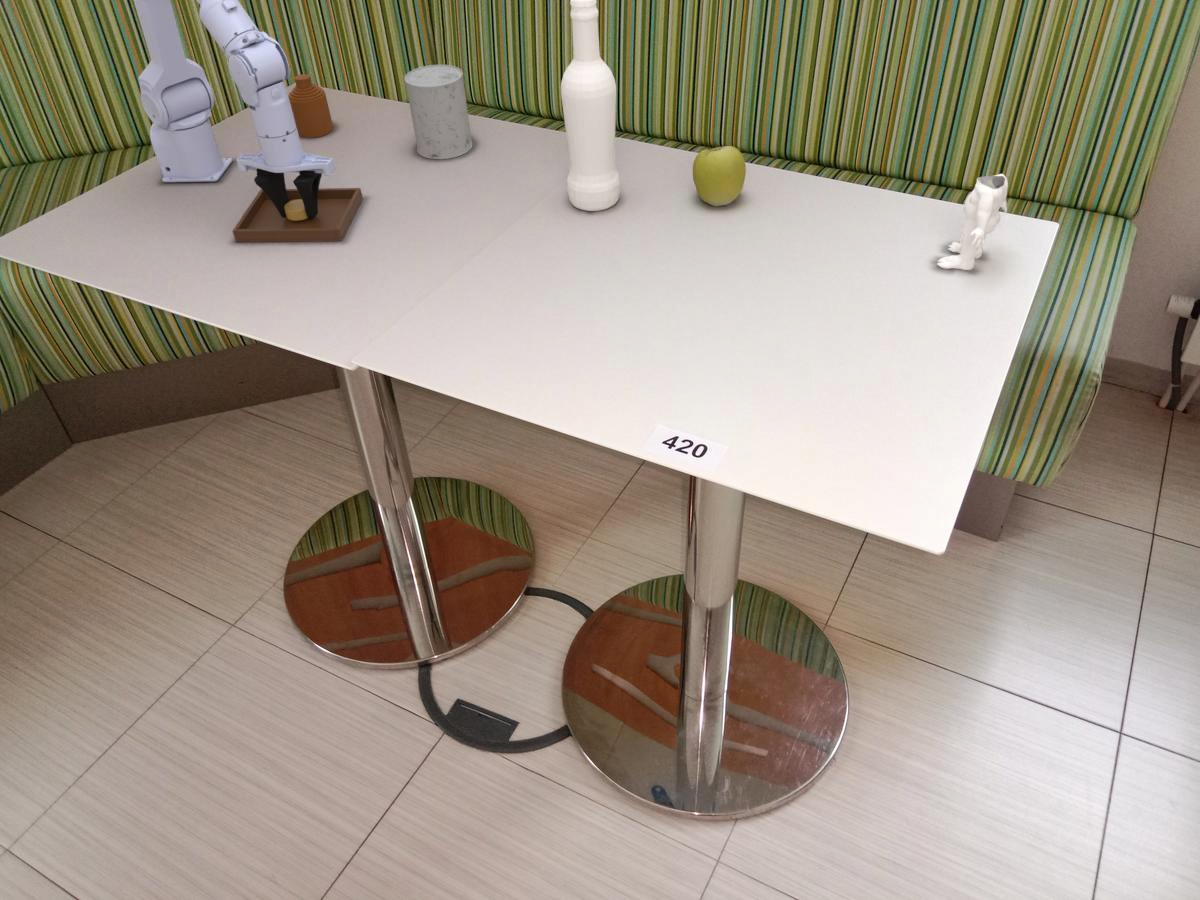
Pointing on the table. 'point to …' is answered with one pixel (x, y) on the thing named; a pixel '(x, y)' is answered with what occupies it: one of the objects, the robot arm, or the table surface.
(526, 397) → the table surface
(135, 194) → the table surface
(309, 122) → the amber bottle
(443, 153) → the gray speckled cylinder
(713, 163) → the apple
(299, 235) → the tray
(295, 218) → the cap
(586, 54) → the bottle
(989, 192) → the toy creature
